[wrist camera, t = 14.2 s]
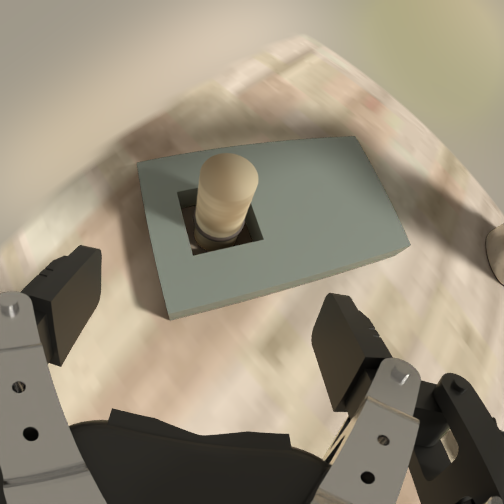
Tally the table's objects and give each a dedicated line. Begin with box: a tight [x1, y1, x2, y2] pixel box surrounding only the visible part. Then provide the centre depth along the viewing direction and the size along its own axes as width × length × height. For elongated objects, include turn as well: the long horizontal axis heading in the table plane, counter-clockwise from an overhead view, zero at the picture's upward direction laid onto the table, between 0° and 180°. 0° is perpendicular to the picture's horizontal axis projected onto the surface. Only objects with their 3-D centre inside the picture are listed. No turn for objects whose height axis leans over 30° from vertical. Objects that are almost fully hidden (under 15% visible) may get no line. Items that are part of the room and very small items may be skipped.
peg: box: [193, 153, 258, 252], centre depth 25 cm, size 4×4×9 cm
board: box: [137, 136, 411, 320], centre depth 30 cm, size 24×14×3 cm, turn 108°
